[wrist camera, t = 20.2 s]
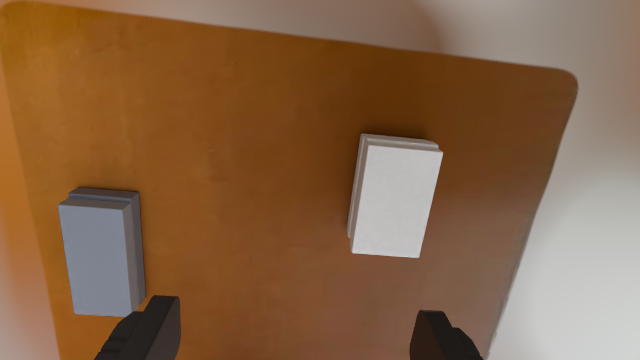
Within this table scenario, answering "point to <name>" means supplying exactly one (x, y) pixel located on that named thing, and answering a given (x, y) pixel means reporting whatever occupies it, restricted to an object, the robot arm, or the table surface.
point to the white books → (360, 159)
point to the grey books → (103, 251)
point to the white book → (394, 198)
